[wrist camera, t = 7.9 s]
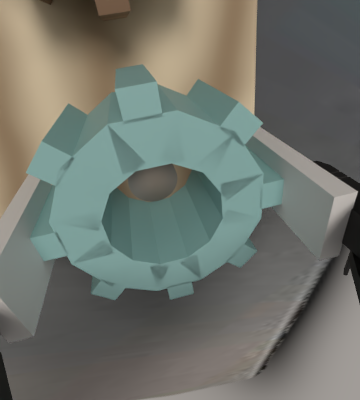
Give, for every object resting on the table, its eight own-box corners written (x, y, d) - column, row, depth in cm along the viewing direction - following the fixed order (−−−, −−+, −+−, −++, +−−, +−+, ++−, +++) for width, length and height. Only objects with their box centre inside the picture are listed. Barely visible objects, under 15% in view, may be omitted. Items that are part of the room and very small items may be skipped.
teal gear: (15, 87, 11) (-47, 119, 7) (235, 47, 12) (297, 55, 8) (91, 250, 16) (82, 323, 12) (237, 215, 17) (274, 272, 13)
